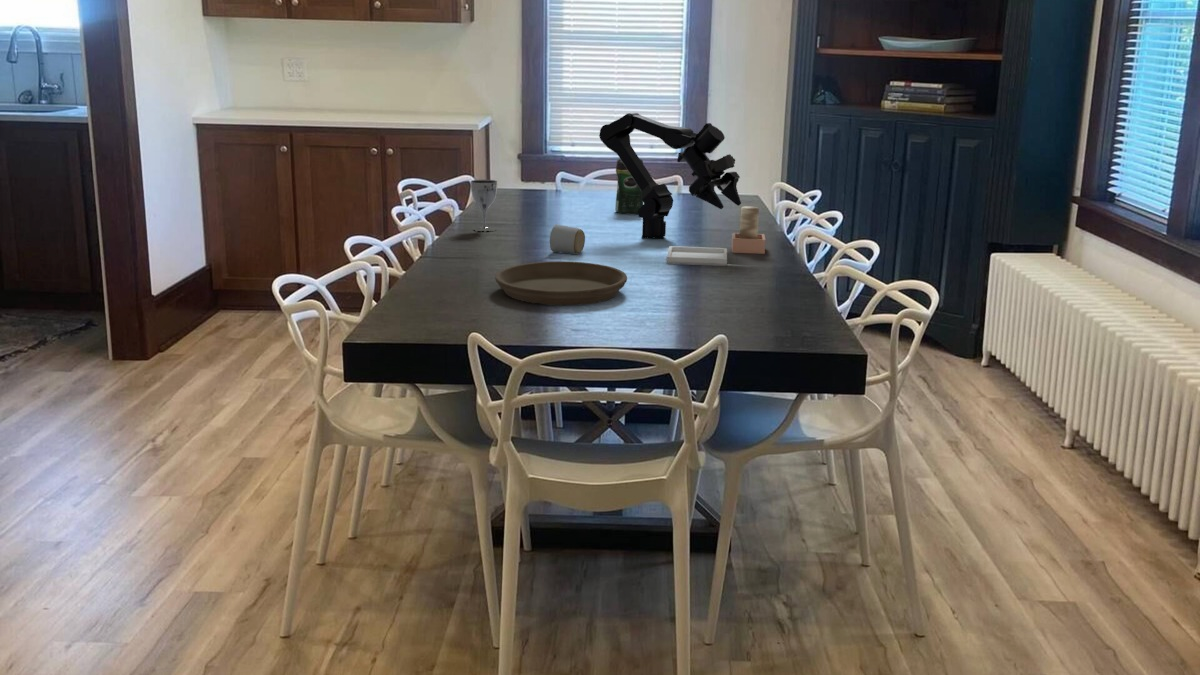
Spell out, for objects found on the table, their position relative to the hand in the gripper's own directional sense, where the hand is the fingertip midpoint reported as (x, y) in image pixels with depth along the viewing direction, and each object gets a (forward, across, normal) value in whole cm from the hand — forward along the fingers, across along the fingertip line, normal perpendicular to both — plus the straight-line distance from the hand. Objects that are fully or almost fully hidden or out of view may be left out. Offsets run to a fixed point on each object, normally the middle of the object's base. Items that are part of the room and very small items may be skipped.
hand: (731, 206), depth 314 cm
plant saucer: (+9, -74, +9) cm, 75 cm away
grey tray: (+10, -18, +8) cm, 22 cm away
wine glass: (-42, -26, +60) cm, 78 cm away
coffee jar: (-35, +33, +52) cm, 71 cm away
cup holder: (+13, 0, +4) cm, 14 cm away
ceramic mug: (-13, -35, +30) cm, 48 cm away
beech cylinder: (+13, 0, +4) cm, 13 cm away
